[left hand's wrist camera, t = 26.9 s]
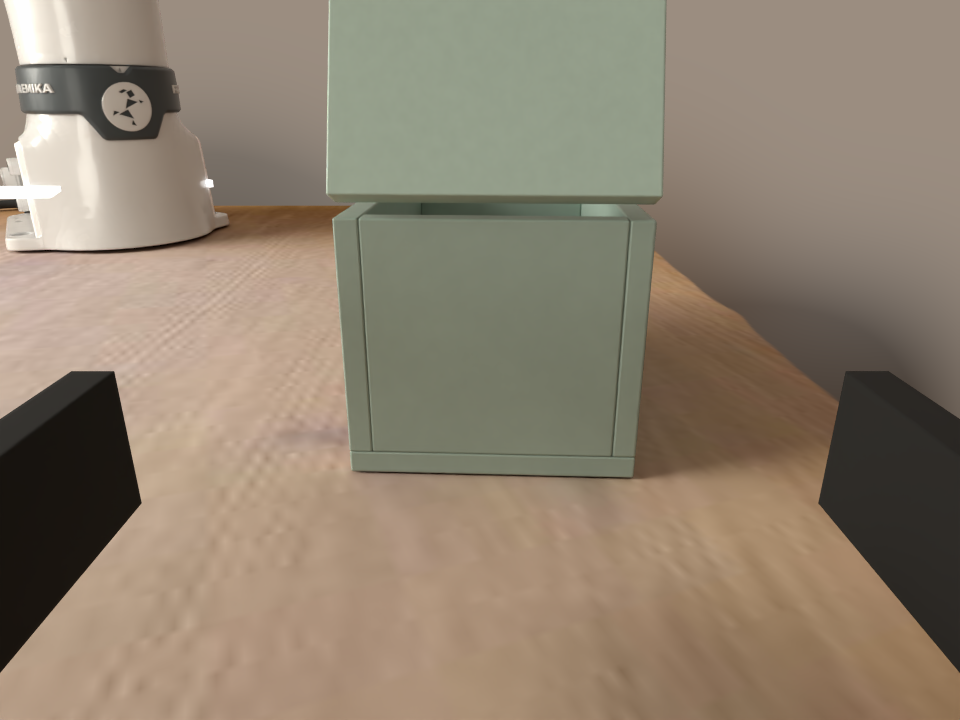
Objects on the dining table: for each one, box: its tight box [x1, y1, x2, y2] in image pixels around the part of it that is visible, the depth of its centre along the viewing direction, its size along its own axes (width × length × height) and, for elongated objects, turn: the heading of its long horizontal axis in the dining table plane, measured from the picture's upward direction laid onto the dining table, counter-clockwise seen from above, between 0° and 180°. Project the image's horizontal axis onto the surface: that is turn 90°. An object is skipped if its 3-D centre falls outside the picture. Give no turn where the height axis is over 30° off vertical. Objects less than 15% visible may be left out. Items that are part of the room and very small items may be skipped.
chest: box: [332, 202, 657, 477], centre depth 29 cm, size 15×10×9 cm, turn 177°
